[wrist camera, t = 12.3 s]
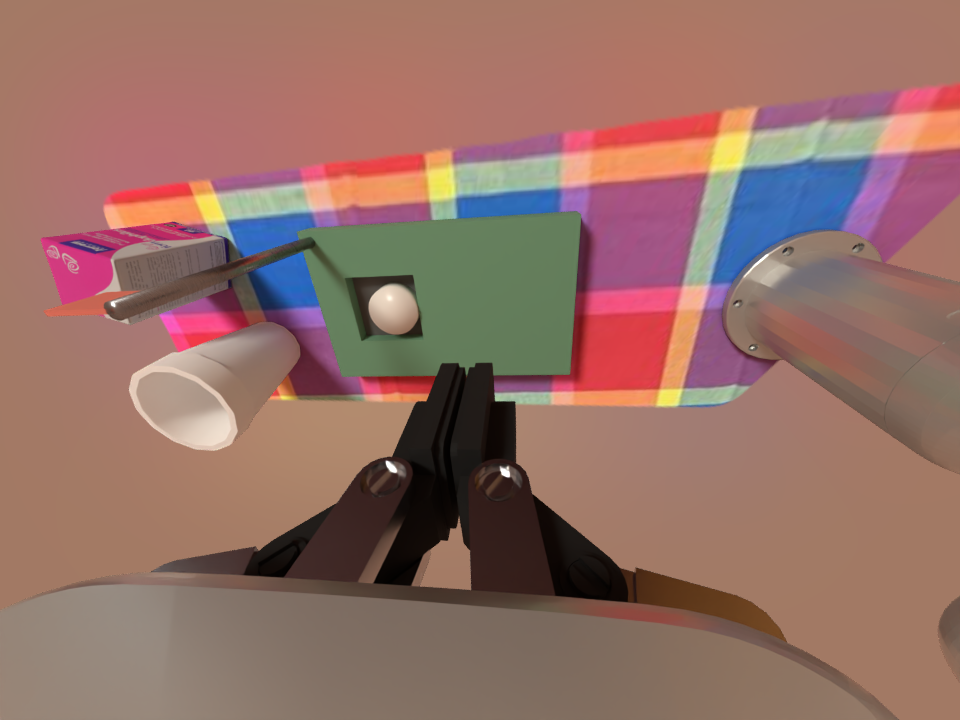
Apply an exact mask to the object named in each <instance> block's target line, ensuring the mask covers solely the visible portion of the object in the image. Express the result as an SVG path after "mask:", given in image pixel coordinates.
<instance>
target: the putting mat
mask: <svg viewBox="0 0 960 720" xmlns="http://www.w3.org/2000/svg"><path fill="white" fill-rule="evenodd" d="M580 226H581V214H580V213H579V212H577V211H572V212H556V213H540V214H525V215H509V216H493V217H477V218H461V219H445V220H430V221H414V222H398V223H382V224H366V225H351V226H335V227H319V228H309V229H306V230H302V231H299V232H297V234H298V237H299V240H297V241H294V242H291V243H288V244H285V245H282V246H278V247H275V248H272V249H269V250H266V251H263V252H260V253H257V254H254V255H250V256H247V257H244V258H241V259H238V260H235V261H232V262H229V263H226V264H222V265H219V266H216V267H213V268H210V269H207V270H204V271H201V272H198V273H194V274H191V275H188V276H185V277H182V278H179V279H176V280H173V281H170V282H166V283H163V284H160V285H157V286H154V287H151V288H148V289H145V290H142V291H118V292H105V293H101V294H98V295H95V296H91V297H88V298H85V299H81V300H78V301H75V302H71V303H68V304H65V305H61V306H58V307H54V308H51V309H48V310H44V312H45V314H46V315H47V316H74V315H104V314H108V315H109V316H110V317H111V318H113V319H115V320H118V321H122V320H125V319H127V318H130V317H133V316H135V315H138V314H140V313H143V312H146V311H148V310H151V309H153V308H156V307H159V306H161V305H164V304H167V303H169V302H172V301H174V300H177V299H180V298H182V297H185V296H188V295H190V294H193V293H195V292H198V291H201V290H203V289H206V288H209V287H211V286H214V285H216V284H219V283H222V282H224V281H227V280H229V279H232V278H235V277H237V276H240V275H243V274H245V273H248V272H250V271H253V270H256V269H258V268H261V267H264V266H266V265H269V264H271V263H274V262H277V261H279V260H282V259H285V258H287V257H290V256H292V255H295V254H298V253H300V252H303V253H304V257H305V260H306V263H307V266H308V269H309V272H310V276H311V279H312V282H313V285H314V288H315V292H316V295H317V298H318V301H319V304H320V308H321V311H322V314H323V317H324V320H325V324H326V327H327V330H328V333H329V336H330V340H331V343H332V346H333V349H334V352H335V356H336V359H337V362H338V365H339V368H340V371H341V375H342V377H351V376H437V373H438V371H439V368H440V366H441V364H442V363H459V366H460V367H465V370H466V376H467V374H468V370H469V367H475V363H492V364H493V375H570V368H571V354H572V339H573V325H574V311H575V297H576V283H577V268H578V254H579V240H580ZM391 282H399V283H403V284H406V285H408V286H409V287H411V288H412V289H413V290H414V291H415V292H416V295H417V301H418V307H419V314H420V317H419V319H418V320H417V322H416V323H415V325H414V326H413V328H412V329H411V330H410V331H408V332H406V333H403V334H390V333H387V332H385V331H383V330H381V329H380V328H379V327H378V326H376V324H375V323H374V322H373V320H372V319H371V317H370V314H369V301H370V299H371V297H372V296H373V294H374V293H375V292H377V291H378V290H379V289H380V288H381V287H382V286H384V285H385V284H388V283H391Z"/></svg>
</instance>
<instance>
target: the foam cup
mask: <svg viewBox="0 0 960 720" xmlns="http://www.w3.org/2000/svg"><path fill="white" fill-rule="evenodd" d="M299 358H300V346H299V344H298V342H297V340H296V338H295V336H294V335H293V334H292V333H290V332H289V331H288V330H287V329H286V328H285V327H283V326H281V325H278V324H276V323H274V322H260V323H256V324H254V325H251V326H248V327H246V328H243V329H240V330H238V331H235V332H232V333H230V334H227V335H224V336H222V337H219V338H216V339H214V340H211V341H208V342H206V343H203V344H200V345H198V346H195V347H192V348H190V349H187V350H184V351H182V352H179V353H175V352H173V353H171V354H169V355H167V356H165V357H163V358H161V359H160V360H158V361H156V362H154V363H152V364H150V365H148V366H146V367H145V368H143V369H141V370H139V371H138V372H136V373H134V374H133V375H132V379H131V383H130V387H129V392H130V395H131V397H132V400H133V403H134V405H135V408H136V409H137V410H138V412H139V413H140V414H141V415H142V416H143V417H144V419H145V420H146V421H147V422H148V423H149V424H150V425H151V426H152V427H153V428H155V429H156V430H157V431H159V432H160V433H162V434H163V435H165V436H166V437H168V438H169V439H171V440H172V441H174V442H177V443H180V444H182V445H185V446H188V447H191V448H193V449H198V450H215V451H216V450H219V449H221V448H223V447H226V446H228V445H231V444H232V443H233V442H234V441H235V440H236V439H237V438H238V437H239V436H240V435H241V434H242V433H243V432H245V431H246V430H247V429H248V427H249V426H250V423H251V422H252V420H253V418H254V417H255V415H256V414H257V413H258V411H259V410H260V409H261V408H262V406H263V405H264V404H265V402H266V401H267V400H268V399H269V398H270V396H271V395H272V394H273V392H274V391H275V390H276V389H277V387H278V386H279V385H280V384H281V382H282V381H283V380H284V379H285V377H286V376H287V375H288V373H289V372H290V371H291V370H292V368H293V367H294V366H295V364H296V363H297V361H298V359H299Z"/></svg>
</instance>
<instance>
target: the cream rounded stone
mask: <svg viewBox="0 0 960 720" xmlns="http://www.w3.org/2000/svg"><path fill="white" fill-rule="evenodd" d="M369 314H370V317H371V319H372V320H373V322H374V323H375V324H376V326H378V327H379V328H380V329H381V330H383V331H385V332H387V333H390V334H403V333H406V332H408V331H410V330H411V329H412V328H413V326H414V325H415V323H416V322H417V320H418V319H419V317H420V314H419V307H418V301H417V295H416V292H415V291H414V290H413V289H412V288H411V287H409V286H408V285H406V284H403V283H399V282H391V283H388V284H385V285H384V286H382V287H381V288H380V289H379V290H378V291H377V292H375V293H374V294H373V296H372V297H371V299H370V301H369Z"/></svg>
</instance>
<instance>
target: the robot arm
mask: <svg viewBox="0 0 960 720" xmlns="http://www.w3.org/2000/svg"><path fill="white" fill-rule="evenodd" d="M722 321H723V327H724V329H725V332H726V335H727V336H728V337H729V339H730V340H731V341H732V343H734V344H735V345H736V346H737V347H738V348H739V349H741V350H742V351H744V352H745V353H747V354H749V355H752V356H754V357H757V358H762V359H768V360H786V361H787V362H788V363H790V364H791V365H792V366H794V367H795V368H797V369H798V370H800V371H801V372H802V373H804V374H805V375H807V376H808V377H809V378H811V379H812V380H814V381H815V382H816V383H818V384H819V385H821V386H822V387H823V388H825V389H826V390H828V391H829V392H830V393H832V394H833V395H835V396H836V397H837V398H839V399H840V400H842V401H843V402H844V403H846V404H848V405H849V406H850V407H852V408H853V409H854V410H856V411H857V412H859V413H860V414H861V415H863V416H864V417H866V418H867V419H868V420H870V421H871V422H873V423H874V424H876V425H877V426H878V427H880V428H881V429H883V430H884V431H885V432H887V433H888V434H890V435H891V436H893V437H894V438H896V439H897V440H898V441H900V442H901V443H903V444H904V445H906V446H907V447H908V448H910V449H911V450H913V451H914V452H916V453H917V454H919V455H920V456H922V457H924V458H925V459H927V460H929V461H930V462H932V463H934V464H936V465H939V466H940V467H942V468H945V469H948V470H950V471H953V472H955V473H958V474H960V282H957V281H953V280H949V279H945V278H941V277H937V276H933V275H929V274H925V273H921V272H917V271H913V270H910V269H906V268H902V267H898V266H893V265H890V264H886V263H882V259H881V257H880V255H879V252H878V250H877V249H876V248H875V247H874V246H873V245H872V244H871V243H870V242H869V241H868V240H866V239H864V238H862V237H861V236H859V235H856V234H852V233H848V232H844V231H837V230H830V229H829V230H813V231H809V232H804V233H800V234H797V235H794V236H791V237H789V238H786V239H784V240H782V241H780V242H778V243H776V244H774V245H772V246H771V247H769V248H767V249H766V250H764V251H763V252H762V253H760V254H759V255H758V256H756V257H755V258H754V259H753V260H752V261H751V262H750V263H749V264H748V265H747V266H745V267H744V268H743V270H742V271H741V272H740V273H739V275H738V276H737V277H736V279H735V280H734V281H733V283H732V285H731V287H730V289H729V290H728V292H727V295H726V298H725V301H724V304H723V311H722ZM459 517H460V523H461V528H462V535H463V542H464V544H465V545H466V546H467V548H468V549H469V550H470V566H471V568H470V569H471V590H462V589H447V588H433V587H420V584H421V581H422V579H423V576H424V573H425V571H426V568H427V565H428V563H429V559H430V555H431V551H430V549H431V548H433V547H434V546H435V545H436V544H438V543H439V542H440V540H445V541H447V540H448V538H449V533H450V528H456V527H457V523H458V518H459ZM938 638H939V643H940V647H941V650H942V653H943V655H944V657H945V659H946V661H947V663H948V665H949V667H950V668H951V670H952V672H953V674H954V675H955V676H956V678H957V679H958V681H959V682H960V596H959V597H957V598H956V599H955V600H954V601H952V602H951V604H949V606H948V607H947V608H946V609H945V610H944V612H943V614H942V616H941V618H940V621H939V625H938ZM0 720H899V719H898V718H897V717H896V716H895V715H894V714H893V713H892V712H890V711H889V710H888V709H887V708H886V707H885V706H884V705H883V704H882V703H881V702H880V701H879V700H878V699H877V698H875V697H874V696H873V695H872V694H871V693H869V692H868V691H867V690H865V689H864V688H863V687H862V686H860V685H859V684H858V683H856V682H855V681H853V680H852V679H850V678H849V677H848V676H846V675H845V674H843V673H841V672H840V671H838V670H837V669H835V668H833V667H832V666H830V665H828V664H827V663H825V662H823V661H821V660H820V659H818V658H816V657H814V656H813V655H811V654H809V653H807V652H805V651H803V650H801V649H799V648H797V647H795V646H793V645H791V644H789V643H787V641H786V639H785V637H784V635H783V633H782V631H781V629H780V628H779V627H778V625H777V624H776V623H775V622H774V621H773V620H772V619H771V617H770V616H769V615H768V614H767V613H766V612H764V611H763V610H762V609H760V608H759V607H758V606H756V605H755V604H754V603H752V602H751V601H748V600H746V599H743V598H741V597H739V596H737V595H733V594H730V593H726V592H723V591H719V590H715V589H712V588H708V587H705V586H701V585H697V584H694V583H690V582H687V581H683V580H679V579H676V578H672V577H669V576H665V575H661V574H658V573H654V572H651V571H647V570H643V569H639V568H635V571H634V572H633V571H629V570H625V569H621V568H619V567H618V566H617V565H616V564H615V563H614V562H613V561H612V559H611V558H610V557H608V556H607V555H606V554H605V553H604V552H602V551H601V550H600V549H599V548H598V547H596V546H595V545H594V544H592V543H591V542H590V541H589V540H588V539H587V538H585V537H584V536H583V535H582V534H581V533H579V532H578V531H577V530H576V529H574V528H573V527H572V526H571V525H570V524H568V523H567V522H566V521H565V520H563V519H562V518H561V517H560V516H559V515H557V514H556V513H555V512H554V511H552V510H551V509H550V508H549V507H548V506H546V505H545V504H544V503H543V502H542V501H540V500H539V499H538V498H537V497H536V496H534V495H533V494H532V491H531V486H530V482H529V478H528V476H527V473H526V471H525V470H524V469H523V468H522V467H521V466H520V465H518V464H517V463H516V408H515V401H495V395H494V378H493V364H492V363H475V367H469V370H468V374H467V378H466V370H465V367H460V366H459V363H442V364H441V366H440V368H439V371H438V373H437V376H436V379H435V381H434V384H433V386H432V389H431V391H430V394H429V396H428V399H427V401H418V402H416V404H415V405H414V408H413V410H412V412H411V415H410V417H409V419H408V422H407V424H406V426H405V428H404V431H403V433H402V435H401V437H400V440H399V442H398V444H397V447H396V449H395V451H394V454H393V456H392V457H385V458H380V459H377V460H375V461H373V462H371V463H369V464H368V465H366V466H365V467H363V468H362V470H361V471H360V472H359V473H358V474H357V475H356V477H355V478H354V480H353V481H352V482H351V484H350V485H349V487H348V488H347V489H346V491H345V492H344V494H343V495H342V497H341V498H340V499H339V501H338V502H337V503H336V504H334V505H333V506H331V507H329V508H327V509H326V510H324V511H322V512H321V513H319V514H317V515H316V516H314V517H312V518H310V519H309V520H307V521H305V522H304V523H302V524H300V525H298V526H297V527H295V528H293V529H291V530H290V531H288V532H286V533H285V534H283V535H281V536H279V537H278V538H276V539H274V540H273V541H271V542H270V543H269V544H267V545H266V546H264V547H263V548H262V549H261V550H260V551H259V550H258V549H257V548H256V546H255V547H249V548H244V549H238V550H232V551H227V552H221V553H215V554H210V555H204V556H198V557H192V558H187V559H181V560H176V561H172V562H169V563H167V564H164V565H162V566H160V567H158V568H157V569H155V570H153V571H151V572H149V573H131V574H122V575H114V576H107V577H101V578H96V579H91V580H86V581H81V582H77V583H73V584H70V585H67V586H63V587H60V588H56V589H53V590H49V591H46V592H43V593H40V594H37V595H35V596H32V597H29V598H27V599H24V600H22V601H20V602H17V603H15V604H13V605H10V606H8V607H6V608H4V609H1V610H0Z"/></svg>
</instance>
